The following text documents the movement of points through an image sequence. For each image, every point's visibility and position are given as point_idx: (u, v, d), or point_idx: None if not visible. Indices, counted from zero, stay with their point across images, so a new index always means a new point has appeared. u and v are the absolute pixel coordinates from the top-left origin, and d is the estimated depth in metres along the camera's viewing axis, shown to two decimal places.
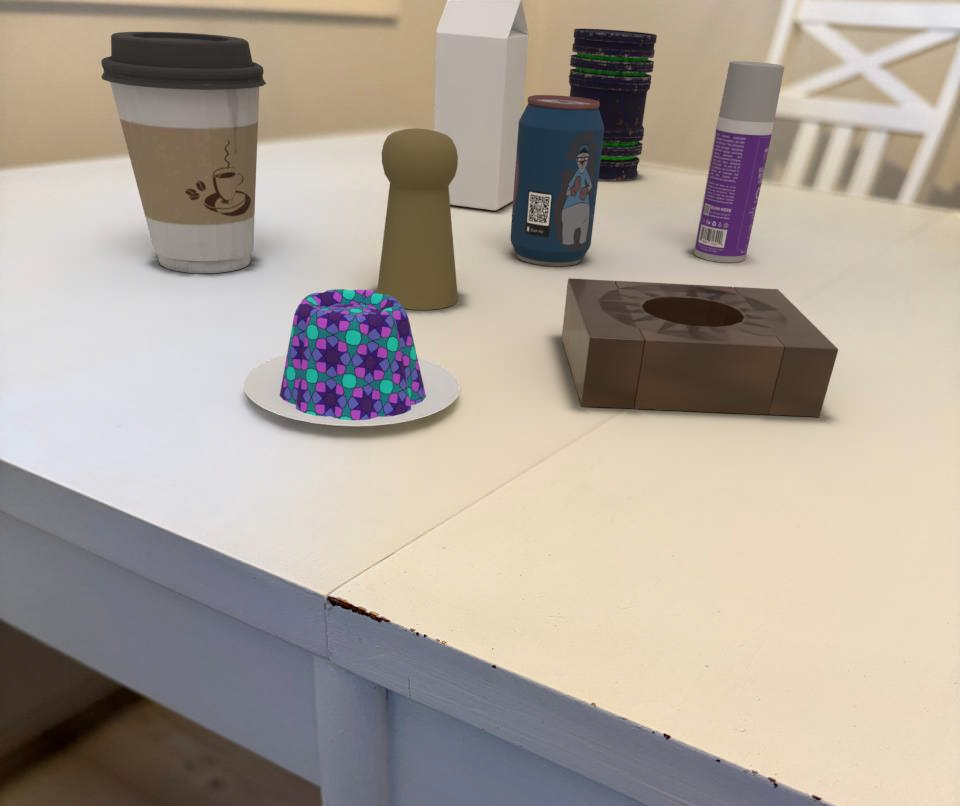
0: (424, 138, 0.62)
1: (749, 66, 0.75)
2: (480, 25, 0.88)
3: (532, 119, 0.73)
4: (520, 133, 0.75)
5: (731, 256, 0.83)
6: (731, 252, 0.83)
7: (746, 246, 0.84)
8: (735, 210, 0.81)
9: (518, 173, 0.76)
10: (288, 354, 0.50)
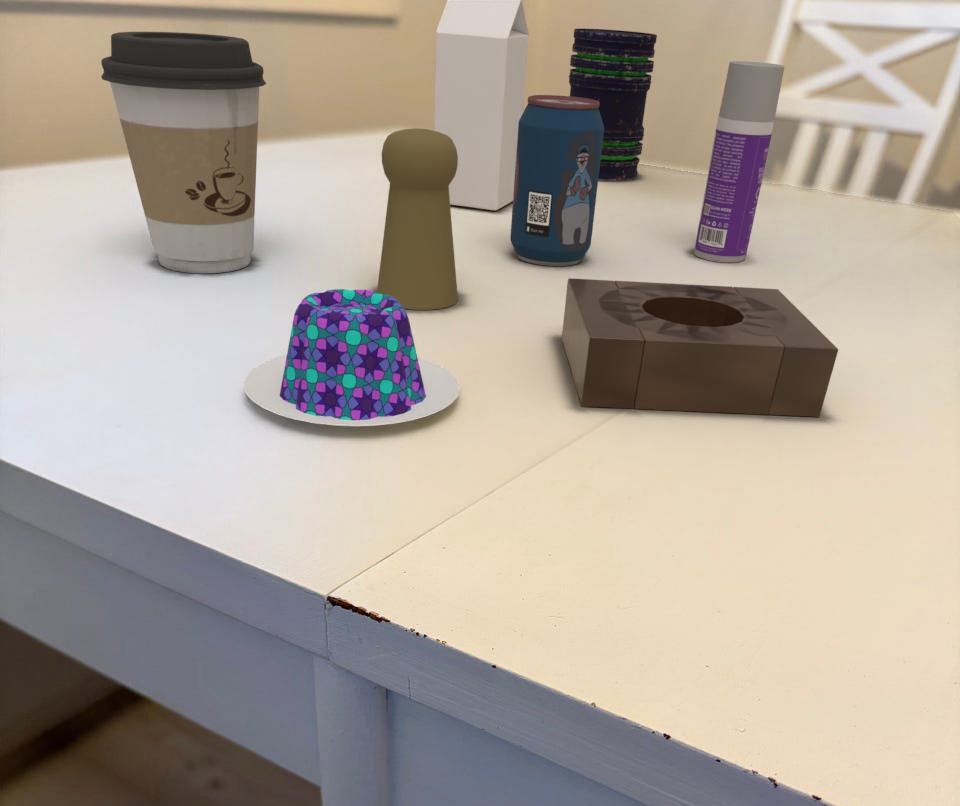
0: (424, 138, 0.62)
1: (749, 66, 0.75)
2: (480, 25, 0.88)
3: (532, 119, 0.73)
4: (520, 133, 0.75)
5: (731, 256, 0.83)
6: (731, 252, 0.83)
7: (746, 246, 0.84)
8: (735, 210, 0.81)
9: (518, 173, 0.76)
10: (288, 354, 0.50)
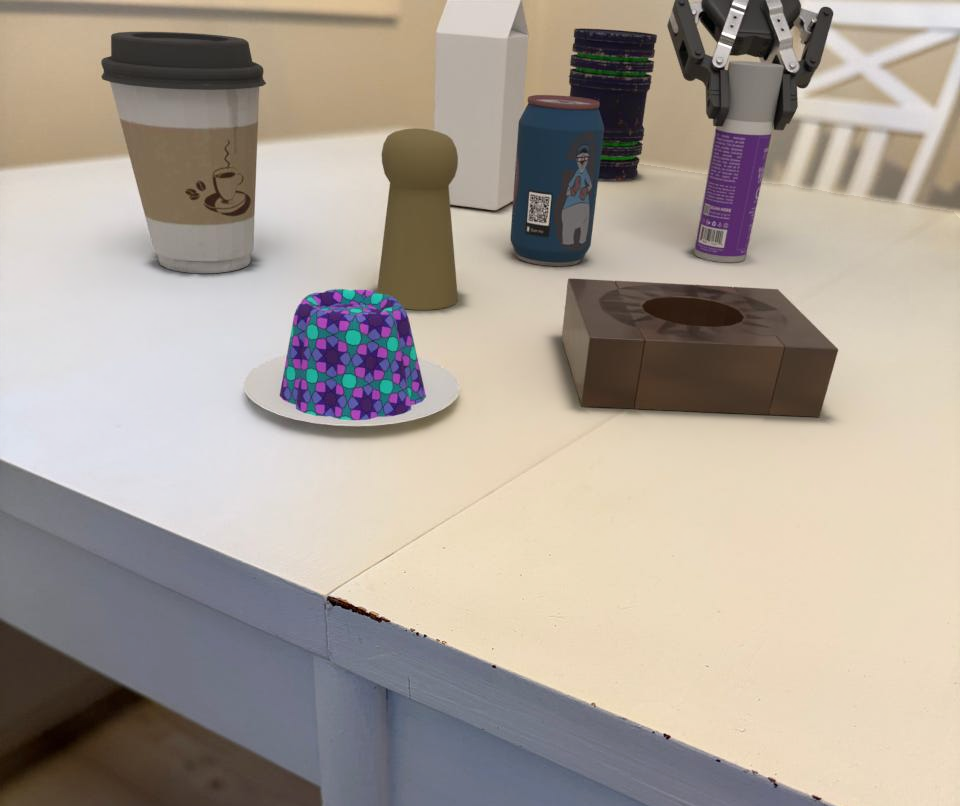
0: (424, 138, 0.62)
1: (748, 66, 0.75)
2: (480, 25, 0.88)
3: (532, 119, 0.73)
4: (520, 133, 0.75)
5: (731, 256, 0.83)
6: (731, 252, 0.83)
7: (746, 246, 0.84)
8: (735, 210, 0.81)
9: (518, 173, 0.76)
10: (288, 354, 0.50)
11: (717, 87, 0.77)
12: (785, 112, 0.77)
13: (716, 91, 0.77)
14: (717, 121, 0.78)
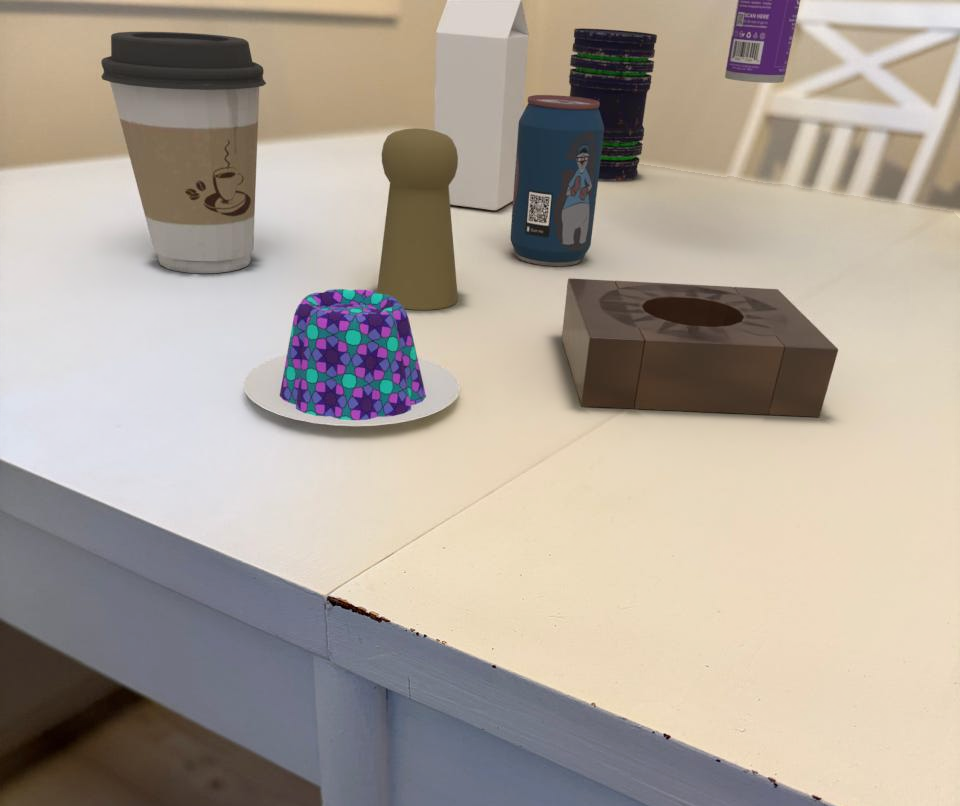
0: (424, 138, 0.62)
1: None
2: (480, 25, 0.88)
3: (532, 119, 0.73)
4: (520, 133, 0.75)
5: (768, 75, 0.73)
6: (768, 69, 0.73)
7: (785, 64, 0.73)
8: (773, 17, 0.71)
9: (518, 173, 0.76)
10: (288, 354, 0.50)
11: None
12: None
13: None
14: None
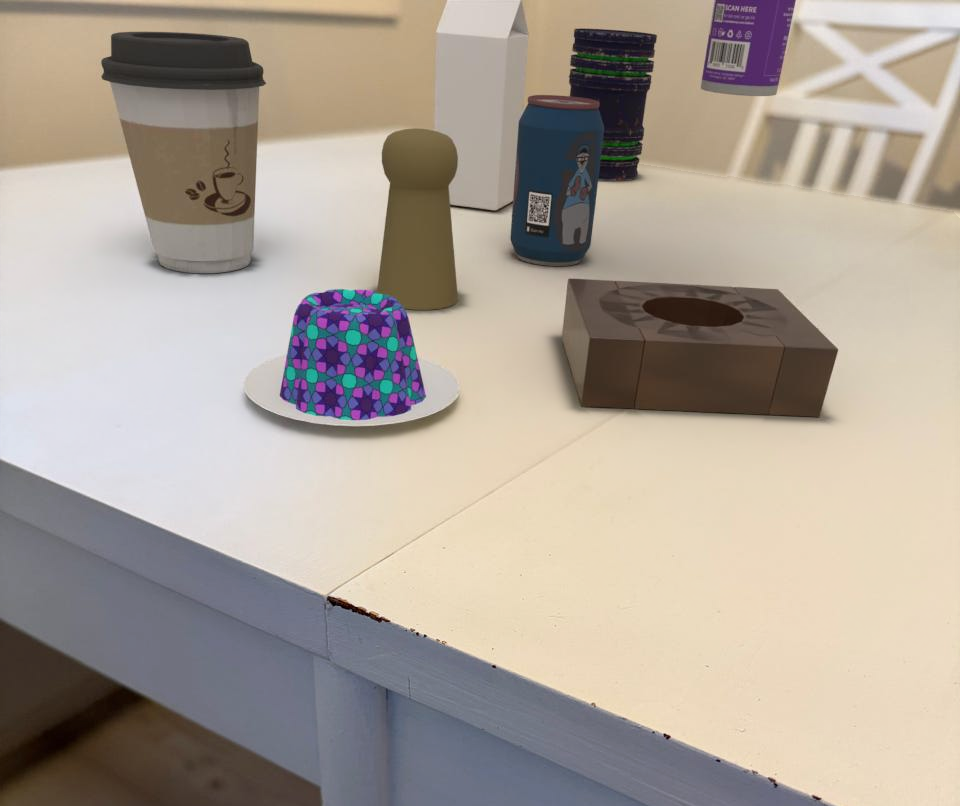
0: (424, 138, 0.62)
1: None
2: (480, 25, 0.88)
3: (532, 119, 0.73)
4: (520, 133, 0.75)
5: (755, 87, 0.56)
6: (756, 79, 0.56)
7: (778, 72, 0.56)
8: (763, 10, 0.54)
9: (518, 173, 0.76)
10: (288, 354, 0.50)
11: None
12: None
13: None
14: None
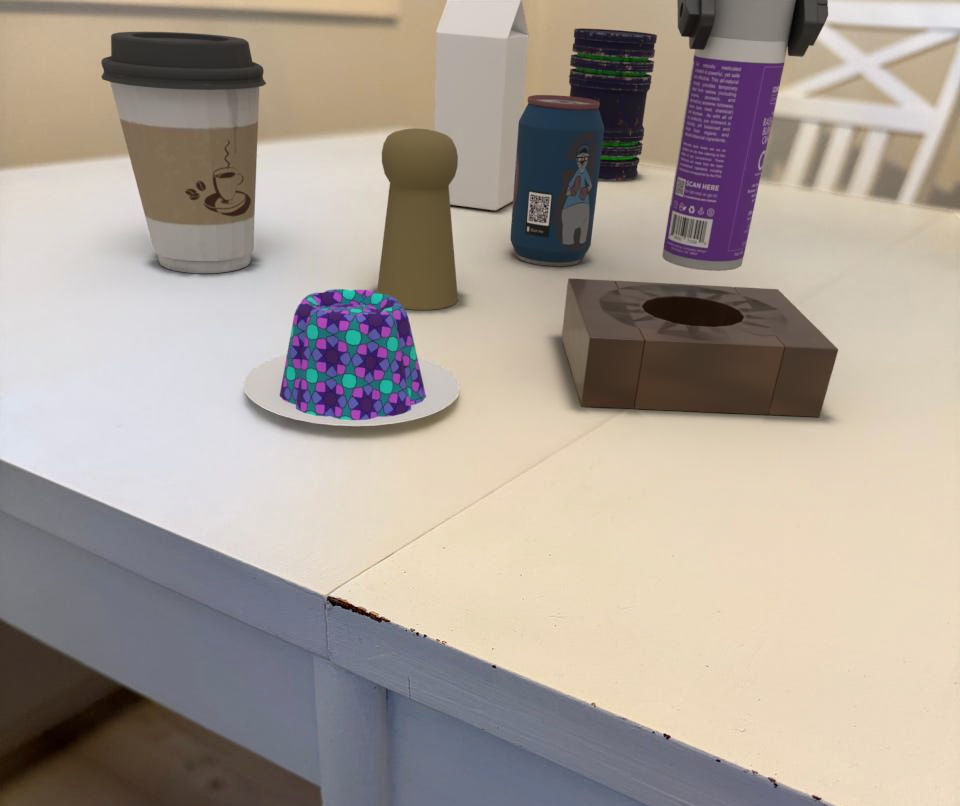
0: (424, 138, 0.62)
1: None
2: (480, 25, 0.88)
3: (532, 119, 0.73)
4: (520, 133, 0.75)
5: (719, 262, 0.53)
6: (719, 255, 0.53)
7: (743, 245, 0.53)
8: (726, 188, 0.51)
9: (518, 173, 0.76)
10: (288, 354, 0.50)
11: None
12: (808, 24, 0.46)
13: None
14: (696, 40, 0.47)
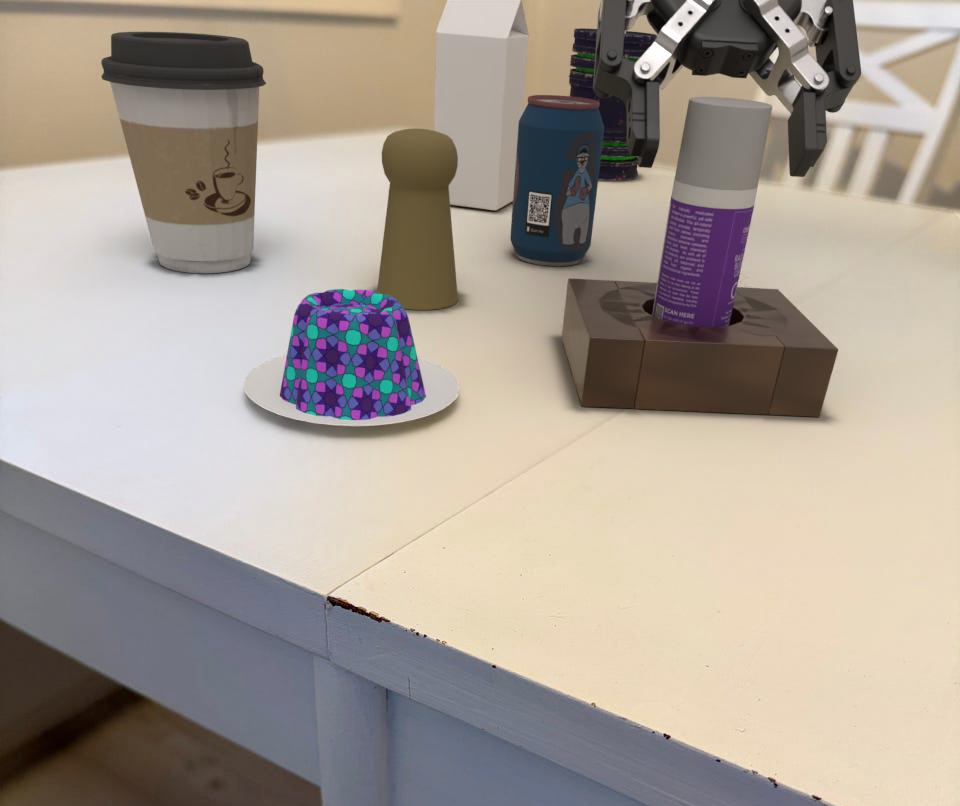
0: (424, 138, 0.62)
1: (718, 107, 0.49)
2: (480, 25, 0.88)
3: (532, 119, 0.73)
4: (520, 133, 0.75)
5: None
6: None
7: None
8: (700, 316, 0.55)
9: (518, 173, 0.76)
10: (288, 354, 0.50)
11: (642, 109, 0.50)
12: (808, 151, 0.50)
13: (640, 115, 0.50)
14: (643, 161, 0.51)
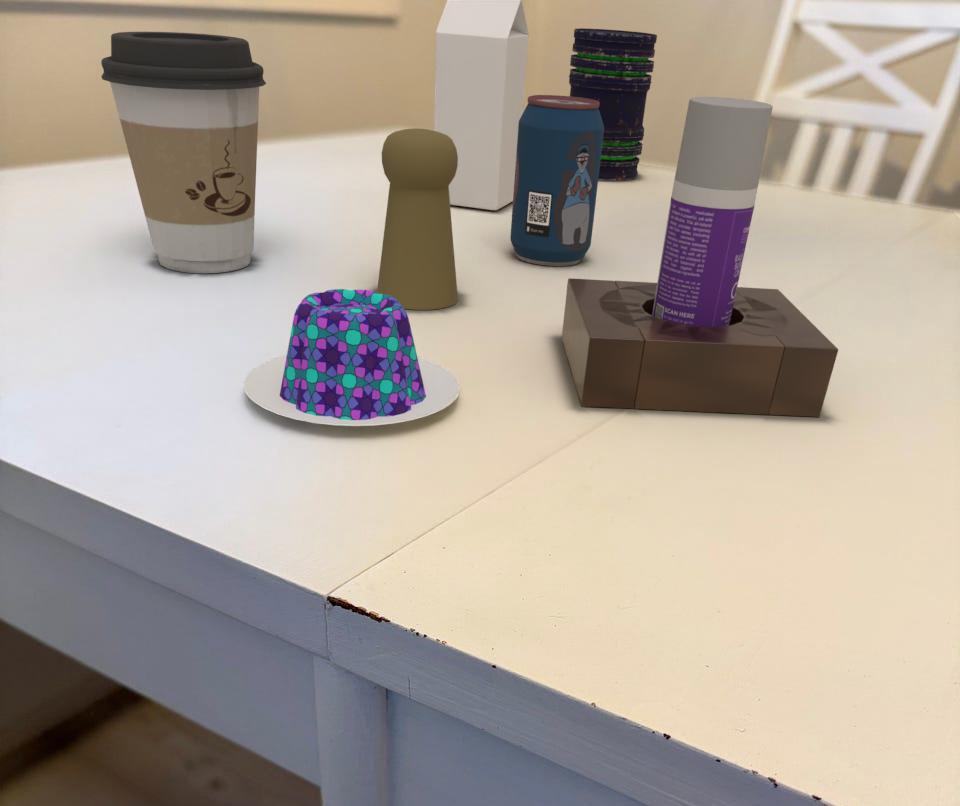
0: (424, 138, 0.62)
1: (718, 107, 0.49)
2: (480, 25, 0.88)
3: (532, 119, 0.73)
4: (520, 133, 0.75)
5: None
6: None
7: None
8: (700, 316, 0.55)
9: (518, 173, 0.76)
10: (288, 354, 0.50)
11: None
12: None
13: None
14: None
